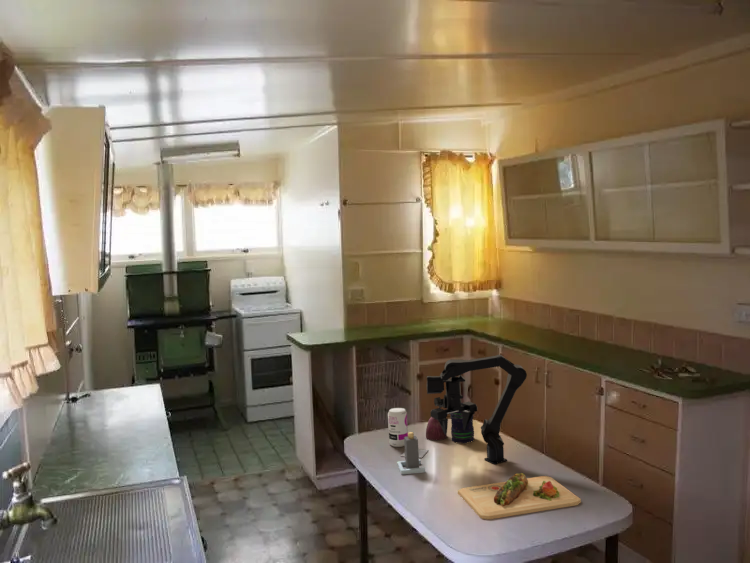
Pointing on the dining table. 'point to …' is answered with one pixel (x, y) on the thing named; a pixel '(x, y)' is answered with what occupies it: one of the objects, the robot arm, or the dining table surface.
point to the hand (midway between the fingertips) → (455, 432)
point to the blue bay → (409, 471)
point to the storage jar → (461, 429)
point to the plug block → (411, 451)
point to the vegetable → (434, 430)
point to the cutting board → (517, 496)
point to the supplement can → (397, 426)
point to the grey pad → (421, 453)
